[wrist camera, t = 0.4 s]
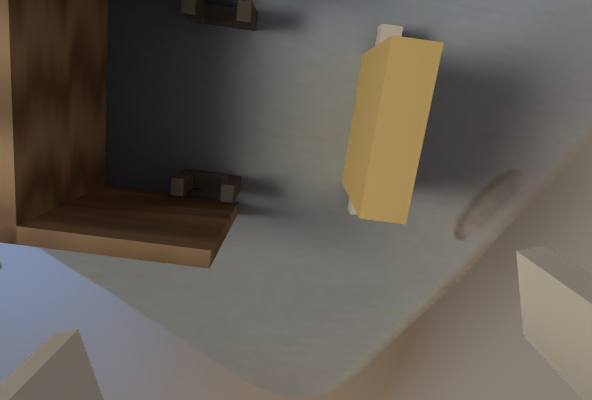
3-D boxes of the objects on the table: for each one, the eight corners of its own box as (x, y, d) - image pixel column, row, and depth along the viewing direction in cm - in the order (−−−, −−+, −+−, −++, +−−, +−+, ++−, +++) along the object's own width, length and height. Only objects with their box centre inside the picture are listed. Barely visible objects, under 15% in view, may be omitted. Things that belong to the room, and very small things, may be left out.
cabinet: (93, -42, 33) (-20, -117, 21) (260, -18, 33) (239, -79, 21) (91, 196, 37) (-3, 242, 26) (237, 214, 38) (209, 268, 26)
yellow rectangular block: (367, 27, 34) (398, -3, 23) (403, 33, 34) (451, 4, 23) (338, 204, 37) (354, 247, 27) (371, 208, 38) (399, 253, 27)
